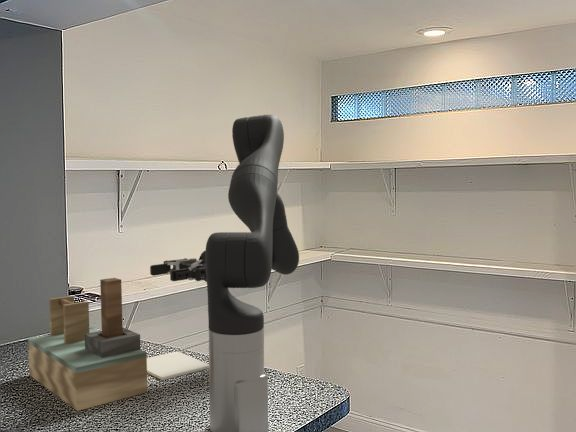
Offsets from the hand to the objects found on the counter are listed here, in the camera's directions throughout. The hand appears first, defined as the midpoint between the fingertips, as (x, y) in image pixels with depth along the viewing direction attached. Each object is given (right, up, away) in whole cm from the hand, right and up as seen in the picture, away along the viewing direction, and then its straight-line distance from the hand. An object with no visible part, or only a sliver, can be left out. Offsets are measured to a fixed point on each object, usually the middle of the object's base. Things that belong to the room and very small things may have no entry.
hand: (160, 273), depth 125 cm
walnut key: (-8, -14, -6) cm, 18 cm away
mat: (0, -21, +8) cm, 23 cm away
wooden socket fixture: (-15, -22, -3) cm, 27 cm away
